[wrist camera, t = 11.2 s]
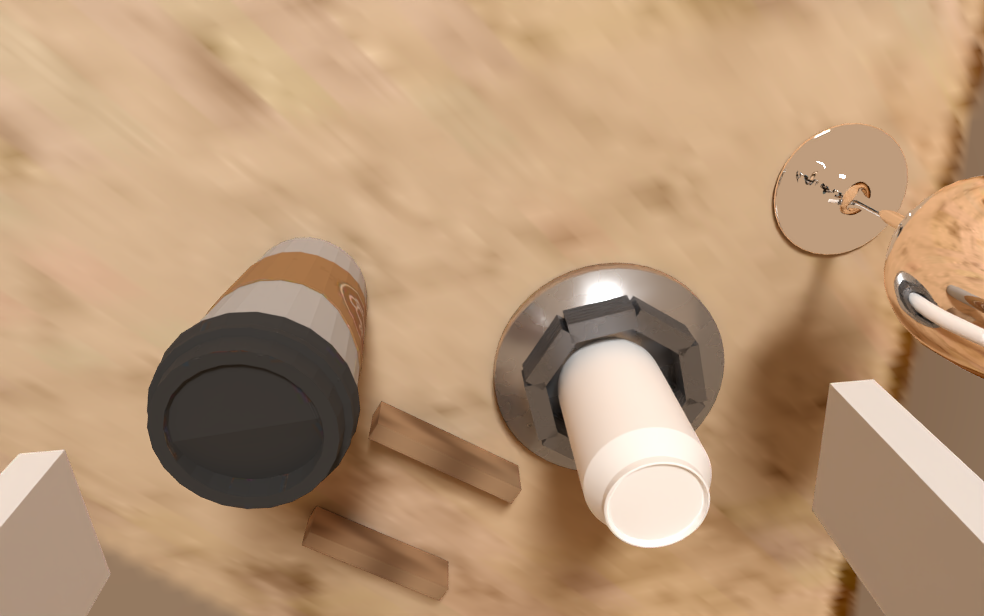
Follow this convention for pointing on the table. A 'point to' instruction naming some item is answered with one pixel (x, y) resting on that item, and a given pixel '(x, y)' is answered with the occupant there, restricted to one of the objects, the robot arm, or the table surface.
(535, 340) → the hub collar
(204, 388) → the coffee cup
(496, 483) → the walnut cradle
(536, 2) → the table surface
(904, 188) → the wineglass
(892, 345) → the table surface
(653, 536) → the beverage can
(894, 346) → the table surface
